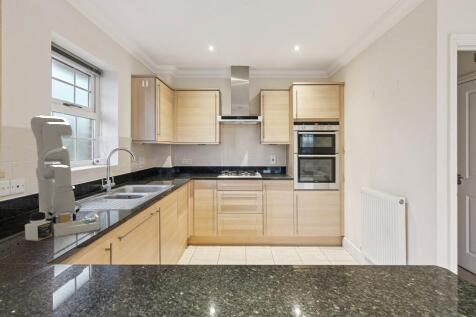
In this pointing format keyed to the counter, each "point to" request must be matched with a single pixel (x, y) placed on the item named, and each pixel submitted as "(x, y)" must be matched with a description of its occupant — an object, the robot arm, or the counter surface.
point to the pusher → (88, 220)
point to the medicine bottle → (38, 227)
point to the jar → (64, 216)
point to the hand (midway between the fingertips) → (64, 222)
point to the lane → (76, 226)
